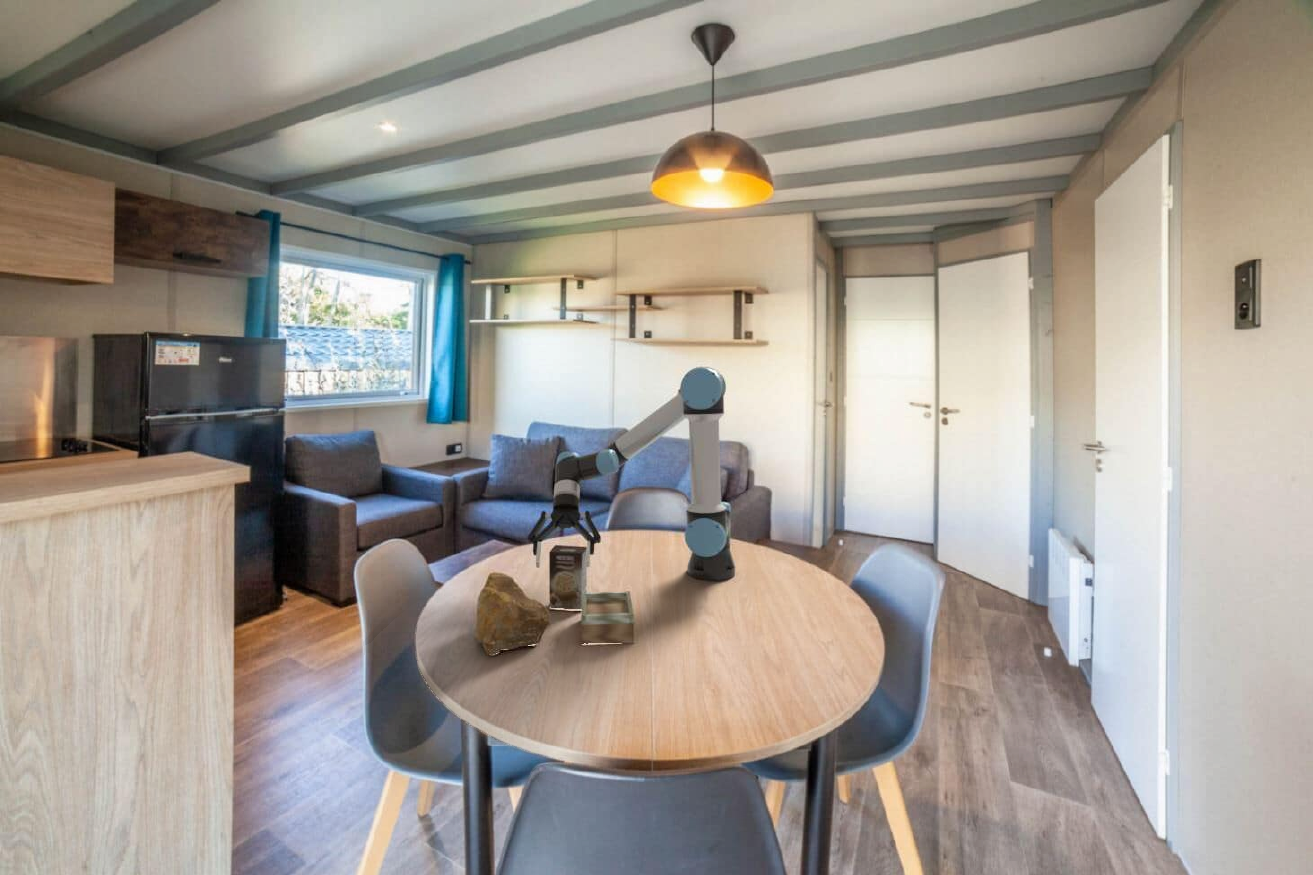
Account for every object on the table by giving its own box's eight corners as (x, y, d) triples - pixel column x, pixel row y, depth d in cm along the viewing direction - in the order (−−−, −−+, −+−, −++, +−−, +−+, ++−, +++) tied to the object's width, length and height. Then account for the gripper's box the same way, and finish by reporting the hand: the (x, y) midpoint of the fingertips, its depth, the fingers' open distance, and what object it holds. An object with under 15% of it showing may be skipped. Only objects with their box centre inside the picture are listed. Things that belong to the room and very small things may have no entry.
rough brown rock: (548, 667, 124) (553, 598, 123) (467, 667, 120) (472, 597, 120) (546, 625, 146) (550, 568, 146) (478, 625, 143) (482, 566, 142)
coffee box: (548, 610, 152) (547, 551, 150) (554, 601, 158) (554, 544, 157) (582, 612, 151) (581, 552, 149) (587, 603, 157) (587, 545, 156)
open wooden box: (629, 617, 148) (629, 591, 147) (633, 643, 133) (633, 614, 132) (582, 619, 147) (582, 592, 146) (581, 645, 132) (581, 616, 131)
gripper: (608, 505, 173) (608, 570, 160) (524, 506, 171) (517, 571, 158) (609, 491, 168) (609, 557, 154) (522, 492, 165) (514, 559, 152)
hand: (563, 565), depth 156 cm, fingers open, 13 cm apart
